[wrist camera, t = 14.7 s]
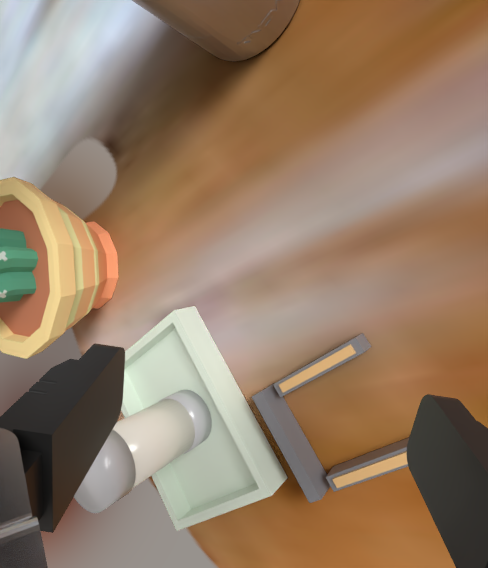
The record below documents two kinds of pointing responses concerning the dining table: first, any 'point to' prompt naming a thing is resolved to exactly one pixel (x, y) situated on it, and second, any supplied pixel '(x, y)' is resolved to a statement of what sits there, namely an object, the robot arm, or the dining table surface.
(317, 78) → the dining table surface
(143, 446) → the fuse
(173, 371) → the parts tray
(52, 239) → the potted cactus
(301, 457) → the grey u-shaped bracket
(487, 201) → the dining table surface
